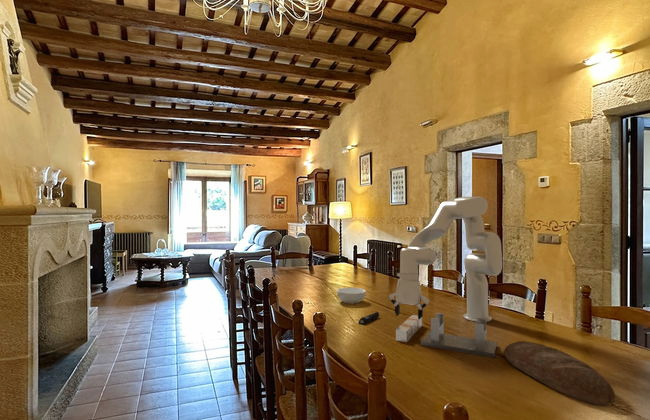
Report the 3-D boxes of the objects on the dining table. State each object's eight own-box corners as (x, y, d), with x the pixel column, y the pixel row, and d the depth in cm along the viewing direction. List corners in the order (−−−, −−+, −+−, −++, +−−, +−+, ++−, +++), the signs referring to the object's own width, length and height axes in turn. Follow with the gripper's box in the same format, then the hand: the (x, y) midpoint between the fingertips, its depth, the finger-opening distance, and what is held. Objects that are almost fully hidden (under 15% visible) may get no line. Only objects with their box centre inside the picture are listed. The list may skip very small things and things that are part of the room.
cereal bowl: (367, 305, 203) (367, 293, 203) (337, 306, 203) (337, 293, 203) (364, 298, 220) (364, 287, 220) (336, 298, 220) (336, 287, 220)
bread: (528, 353, 134) (528, 330, 134) (632, 404, 98) (632, 373, 98) (491, 357, 130) (491, 334, 130) (585, 411, 95) (585, 379, 95)
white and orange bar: (412, 324, 168) (412, 314, 169) (422, 326, 166) (422, 315, 166) (395, 340, 148) (395, 329, 148) (406, 342, 145) (406, 330, 145)
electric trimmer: (381, 318, 180) (381, 312, 180) (364, 325, 168) (364, 318, 168) (374, 317, 182) (374, 310, 182) (357, 324, 170) (357, 317, 170)
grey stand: (428, 335, 153) (428, 310, 154) (496, 346, 141) (496, 318, 141) (420, 345, 142) (420, 318, 142) (494, 357, 129) (493, 328, 129)
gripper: (386, 276, 158) (386, 315, 158) (427, 280, 149) (426, 322, 149) (392, 273, 164) (392, 312, 164) (431, 277, 156) (431, 317, 156)
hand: (408, 316), depth 157 cm, fingers open, 9 cm apart
